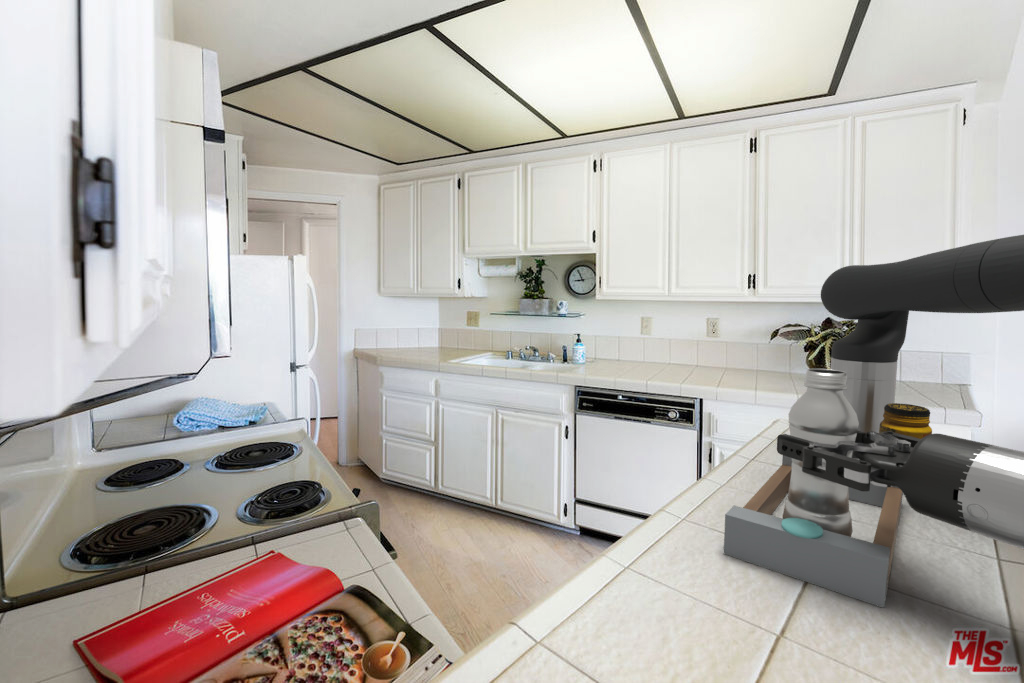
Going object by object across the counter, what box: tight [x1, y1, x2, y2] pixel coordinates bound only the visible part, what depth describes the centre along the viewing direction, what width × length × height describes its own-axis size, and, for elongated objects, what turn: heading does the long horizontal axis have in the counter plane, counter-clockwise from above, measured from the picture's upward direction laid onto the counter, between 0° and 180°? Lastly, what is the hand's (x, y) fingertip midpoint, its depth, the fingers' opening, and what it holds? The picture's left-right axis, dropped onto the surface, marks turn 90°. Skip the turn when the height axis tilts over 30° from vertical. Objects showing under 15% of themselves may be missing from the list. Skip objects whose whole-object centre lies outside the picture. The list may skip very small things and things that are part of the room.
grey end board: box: [723, 505, 890, 609], centre depth 49 cm, size 14×4×5 cm, turn 48°
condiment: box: [879, 402, 933, 439], centre depth 71 cm, size 7×8×12 cm
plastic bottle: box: [782, 368, 859, 537], centre depth 53 cm, size 6×7×20 cm
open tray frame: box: [742, 464, 903, 589], centre depth 59 cm, size 14×23×3 cm, turn 138°
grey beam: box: [781, 455, 904, 508], centre depth 68 cm, size 14×4×5 cm, turn 48°
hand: (805, 438), depth 55 cm, fingers open, 8 cm apart
